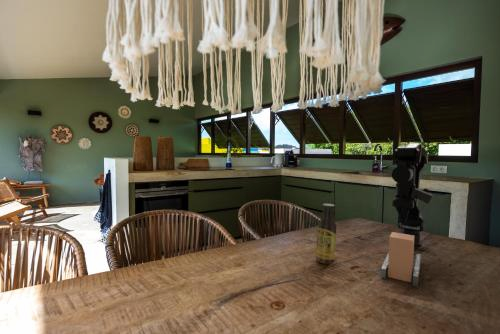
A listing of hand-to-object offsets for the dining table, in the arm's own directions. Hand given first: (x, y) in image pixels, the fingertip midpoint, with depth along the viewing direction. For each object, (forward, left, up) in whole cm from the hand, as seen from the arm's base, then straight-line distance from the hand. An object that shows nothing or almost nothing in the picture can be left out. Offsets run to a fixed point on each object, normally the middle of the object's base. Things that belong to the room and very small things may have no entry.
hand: (403, 223), depth 101 cm
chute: (+12, -13, -12) cm, 22 cm away
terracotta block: (+16, -17, -11) cm, 25 cm away
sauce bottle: (-2, -31, -12) cm, 33 cm away
